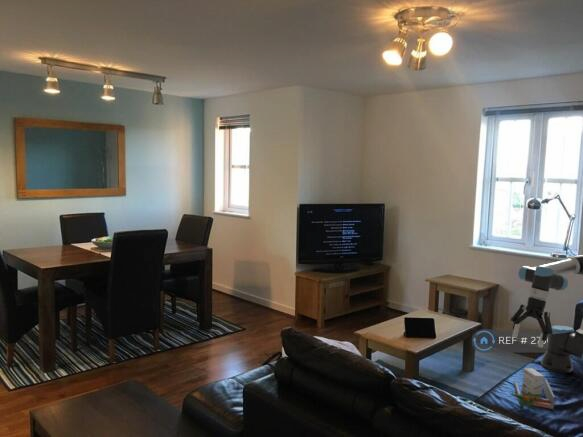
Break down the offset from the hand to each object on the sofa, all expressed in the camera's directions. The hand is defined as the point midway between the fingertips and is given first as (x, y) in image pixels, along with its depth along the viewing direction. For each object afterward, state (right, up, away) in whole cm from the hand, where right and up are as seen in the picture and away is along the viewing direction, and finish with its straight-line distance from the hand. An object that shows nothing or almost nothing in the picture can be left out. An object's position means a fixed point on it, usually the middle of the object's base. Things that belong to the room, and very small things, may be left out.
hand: (527, 342), depth 225 cm
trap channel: (+4, -26, +2) cm, 27 cm away
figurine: (-6, -28, -8) cm, 30 cm away
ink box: (+4, -27, +4) cm, 27 cm away
